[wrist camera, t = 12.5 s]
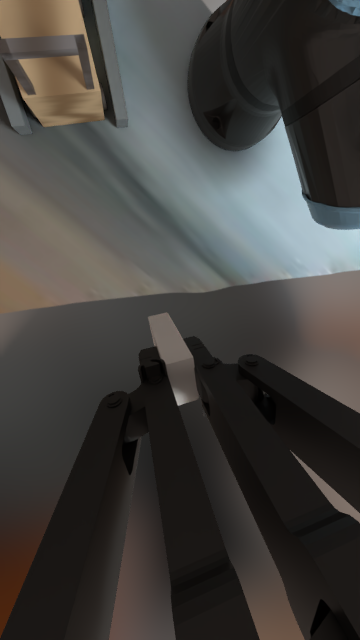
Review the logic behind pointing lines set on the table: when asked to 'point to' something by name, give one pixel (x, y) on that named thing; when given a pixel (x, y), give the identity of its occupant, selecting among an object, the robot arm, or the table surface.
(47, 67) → the cart
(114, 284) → the table surface
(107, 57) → the frame
